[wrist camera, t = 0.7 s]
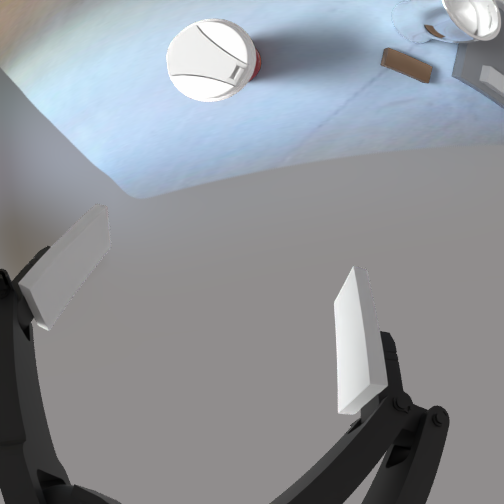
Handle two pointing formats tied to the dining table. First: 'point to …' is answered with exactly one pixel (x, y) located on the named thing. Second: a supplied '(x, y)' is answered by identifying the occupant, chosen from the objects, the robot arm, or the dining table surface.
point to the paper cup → (212, 60)
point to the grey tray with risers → (483, 64)
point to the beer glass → (447, 20)
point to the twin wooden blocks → (406, 65)
